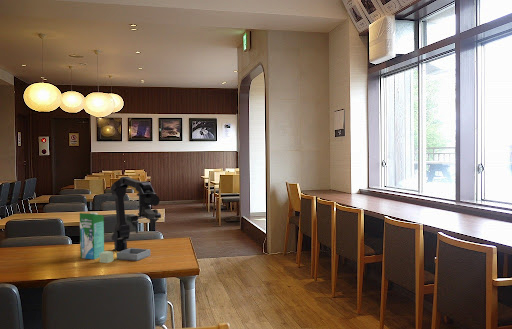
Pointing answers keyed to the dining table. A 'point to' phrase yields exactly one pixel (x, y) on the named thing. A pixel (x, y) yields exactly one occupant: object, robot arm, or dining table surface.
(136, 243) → the dining table surface
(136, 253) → the slate bin
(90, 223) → the milk carton
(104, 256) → the sage cube
